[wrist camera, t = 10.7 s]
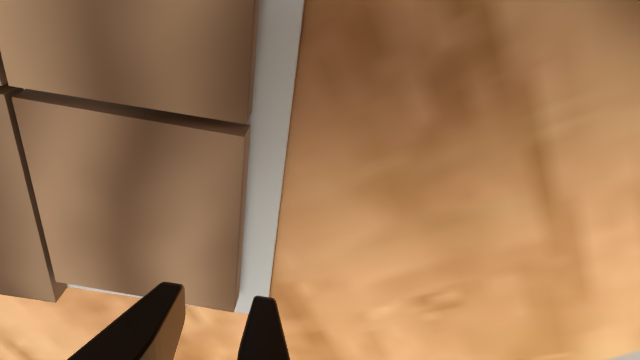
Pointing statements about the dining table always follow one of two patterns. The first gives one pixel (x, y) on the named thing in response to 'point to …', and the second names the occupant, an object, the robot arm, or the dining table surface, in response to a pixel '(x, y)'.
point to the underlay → (265, 144)
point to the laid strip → (20, 215)
